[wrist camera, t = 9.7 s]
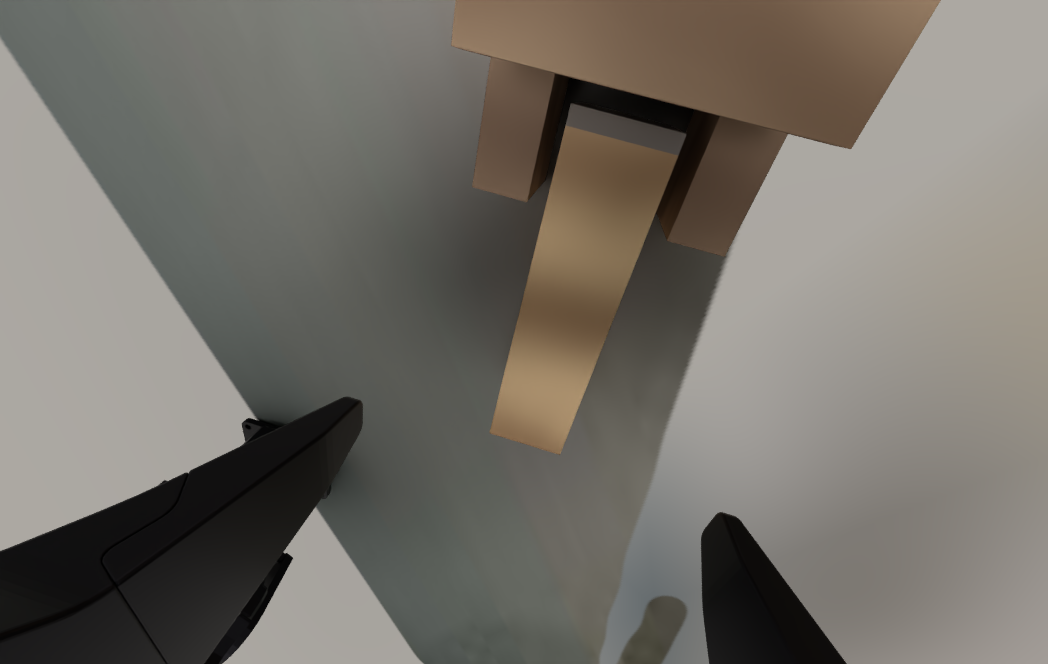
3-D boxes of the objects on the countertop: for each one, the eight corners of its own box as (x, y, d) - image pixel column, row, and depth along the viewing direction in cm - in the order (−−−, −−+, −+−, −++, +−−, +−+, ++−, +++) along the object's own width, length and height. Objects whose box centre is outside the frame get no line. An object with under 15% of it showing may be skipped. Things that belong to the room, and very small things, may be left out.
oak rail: (569, 390, 23) (559, 454, 19) (512, 372, 24) (489, 433, 19) (667, 124, 16) (686, 133, 12) (582, 101, 16) (570, 103, 12)
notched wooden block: (700, 222, 18) (765, 314, 10) (502, 168, 18) (422, 217, 10) (778, 52, 14) (960, 1, 7) (533, -9, 15) (451, -119, 7)
